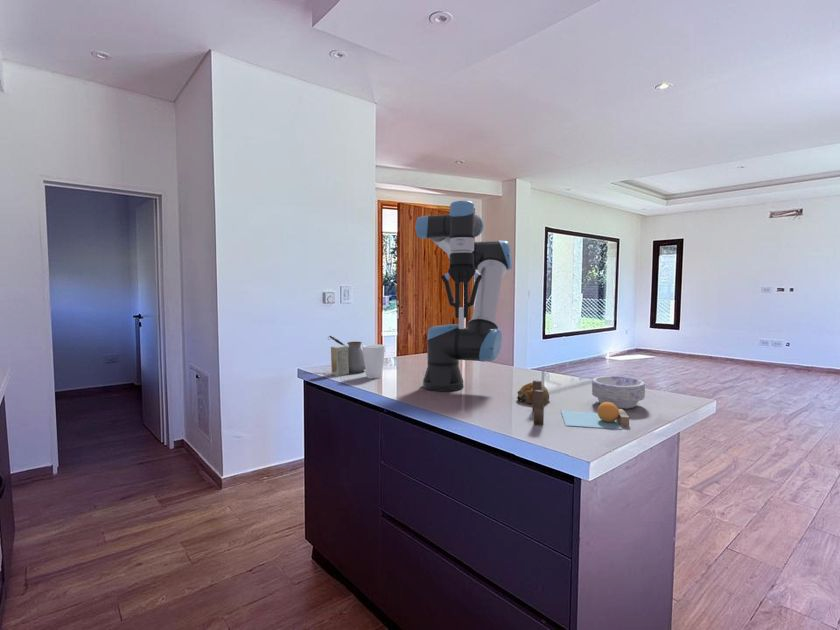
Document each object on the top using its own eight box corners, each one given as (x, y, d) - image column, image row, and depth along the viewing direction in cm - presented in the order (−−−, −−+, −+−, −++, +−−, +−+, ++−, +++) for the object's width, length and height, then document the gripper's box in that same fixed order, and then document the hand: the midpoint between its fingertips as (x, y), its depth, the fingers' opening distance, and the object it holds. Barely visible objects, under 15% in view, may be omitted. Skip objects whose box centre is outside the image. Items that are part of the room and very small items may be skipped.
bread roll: (544, 417, 140) (556, 395, 139) (514, 402, 142) (526, 380, 141) (542, 408, 150) (553, 387, 149) (514, 394, 152) (524, 373, 150)
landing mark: (560, 411, 133) (560, 410, 133) (610, 414, 130) (610, 413, 130) (565, 426, 120) (565, 425, 120) (621, 429, 117) (621, 428, 117)
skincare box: (343, 372, 194) (342, 344, 193) (349, 374, 191) (348, 345, 190) (330, 374, 190) (330, 346, 189) (336, 376, 186) (336, 347, 186)
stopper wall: (614, 417, 127) (615, 408, 127) (622, 417, 127) (622, 409, 127) (621, 425, 120) (621, 416, 119) (629, 426, 119) (629, 417, 119)
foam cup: (384, 379, 180) (384, 347, 179) (361, 379, 180) (361, 347, 179) (386, 374, 190) (386, 344, 189) (364, 374, 190) (364, 344, 189)
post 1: (532, 409, 136) (532, 380, 135) (541, 409, 135) (541, 380, 135) (532, 411, 133) (532, 382, 133) (541, 412, 133) (541, 382, 132)
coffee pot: (373, 370, 199) (372, 337, 198) (356, 374, 190) (355, 339, 189) (338, 365, 211) (337, 334, 210) (320, 369, 201) (319, 336, 200)
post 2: (533, 421, 123) (533, 389, 123) (543, 422, 123) (543, 390, 122) (533, 424, 121) (534, 392, 120) (543, 425, 120) (544, 392, 120)
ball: (598, 420, 126) (593, 401, 126) (618, 416, 125) (613, 397, 125) (602, 427, 121) (597, 407, 121) (623, 422, 120) (618, 403, 120)
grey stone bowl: (584, 406, 139) (584, 381, 139) (601, 396, 151) (601, 373, 150) (636, 415, 129) (637, 388, 129) (650, 404, 141) (651, 379, 140)
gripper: (438, 252, 135) (439, 329, 137) (482, 251, 133) (481, 330, 134) (443, 253, 143) (443, 327, 144) (484, 252, 140) (483, 327, 141)
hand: (461, 328), depth 139 cm, fingers closed
